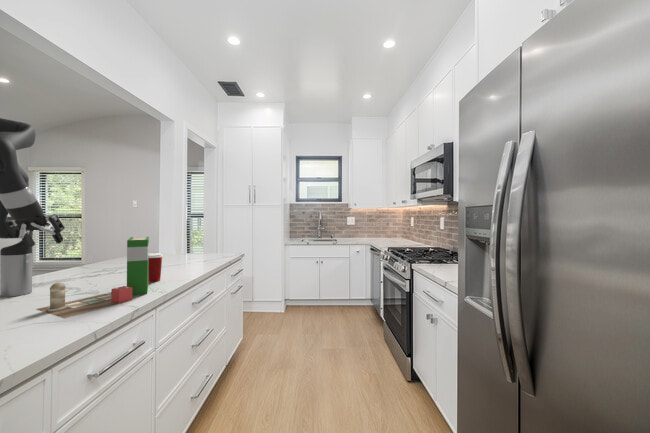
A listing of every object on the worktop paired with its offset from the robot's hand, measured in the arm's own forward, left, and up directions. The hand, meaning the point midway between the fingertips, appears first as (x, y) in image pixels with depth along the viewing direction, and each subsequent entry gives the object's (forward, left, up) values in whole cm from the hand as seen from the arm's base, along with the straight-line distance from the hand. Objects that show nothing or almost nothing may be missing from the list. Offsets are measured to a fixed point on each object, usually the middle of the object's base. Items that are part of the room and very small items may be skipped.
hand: (46, 244), depth 98 cm
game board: (+1, +12, -24) cm, 27 cm away
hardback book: (-2, +33, -25) cm, 41 cm away
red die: (+8, +21, -24) cm, 33 cm away
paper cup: (-13, +48, -25) cm, 56 cm away
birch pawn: (-2, +4, -24) cm, 25 cm away
